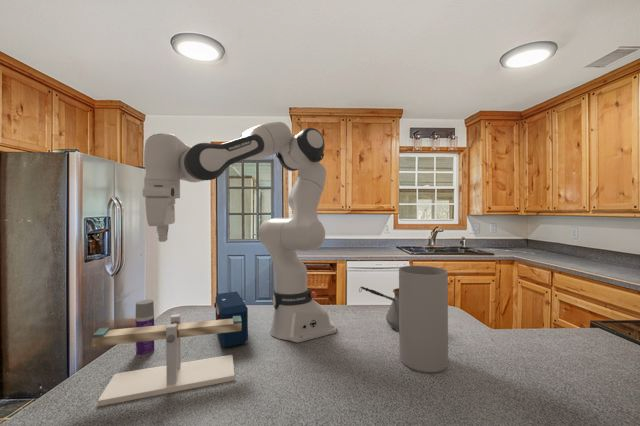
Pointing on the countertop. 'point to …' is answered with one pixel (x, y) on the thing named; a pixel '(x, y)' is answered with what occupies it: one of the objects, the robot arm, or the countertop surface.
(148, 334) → the beam
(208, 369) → the stand
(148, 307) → the container
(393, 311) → the coffee pot
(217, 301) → the radio
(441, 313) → the cylinder vase
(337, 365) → the countertop surface
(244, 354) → the countertop surface
